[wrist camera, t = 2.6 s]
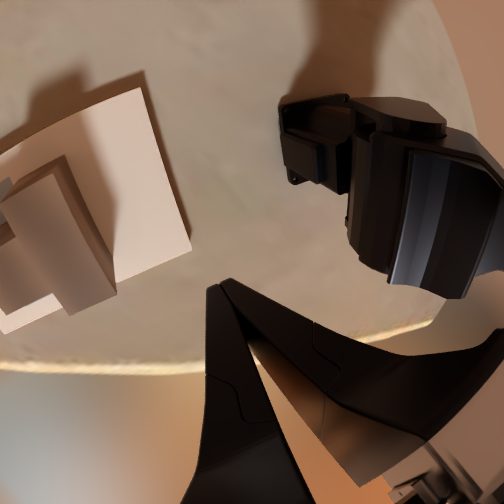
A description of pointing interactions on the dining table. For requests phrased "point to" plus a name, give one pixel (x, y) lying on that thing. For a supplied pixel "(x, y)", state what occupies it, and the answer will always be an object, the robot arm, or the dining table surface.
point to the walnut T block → (52, 244)
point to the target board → (106, 187)
